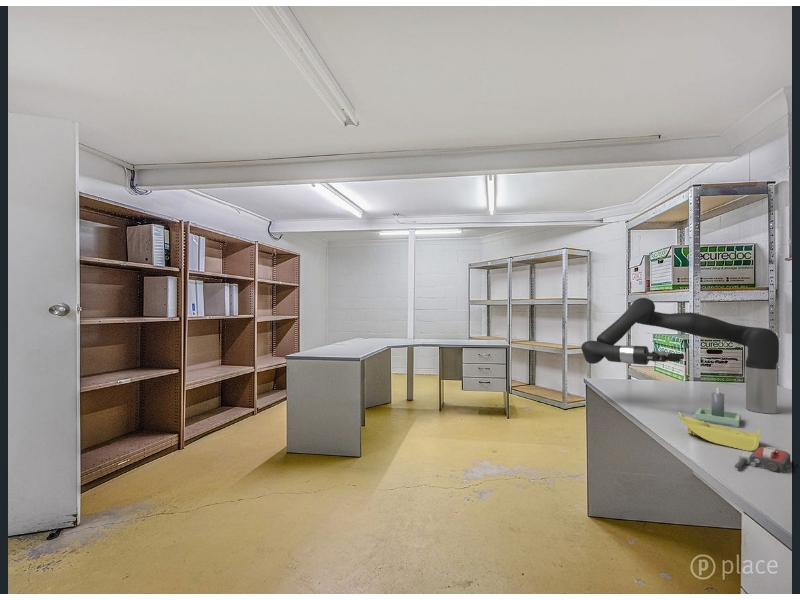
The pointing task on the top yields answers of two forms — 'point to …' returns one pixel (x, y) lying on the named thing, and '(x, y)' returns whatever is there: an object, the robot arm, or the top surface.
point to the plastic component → (722, 434)
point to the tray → (727, 420)
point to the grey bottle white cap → (717, 404)
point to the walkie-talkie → (765, 459)
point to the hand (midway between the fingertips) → (682, 357)
